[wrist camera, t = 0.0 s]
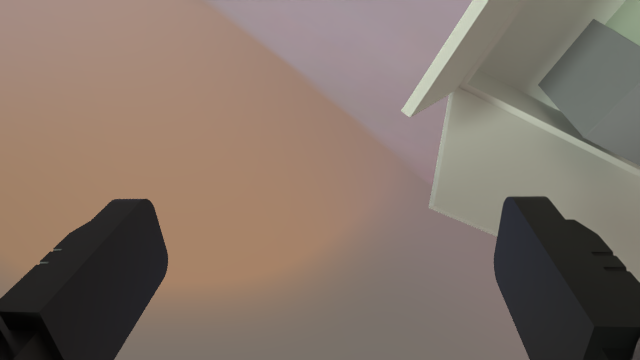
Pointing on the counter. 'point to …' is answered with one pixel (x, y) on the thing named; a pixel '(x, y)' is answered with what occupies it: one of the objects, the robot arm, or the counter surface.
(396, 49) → the counter surface
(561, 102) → the box
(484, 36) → the carton
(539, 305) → the robot arm
